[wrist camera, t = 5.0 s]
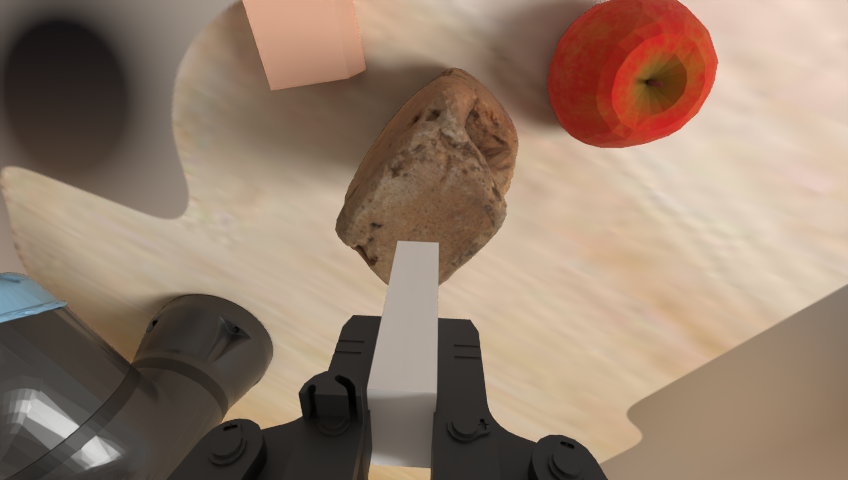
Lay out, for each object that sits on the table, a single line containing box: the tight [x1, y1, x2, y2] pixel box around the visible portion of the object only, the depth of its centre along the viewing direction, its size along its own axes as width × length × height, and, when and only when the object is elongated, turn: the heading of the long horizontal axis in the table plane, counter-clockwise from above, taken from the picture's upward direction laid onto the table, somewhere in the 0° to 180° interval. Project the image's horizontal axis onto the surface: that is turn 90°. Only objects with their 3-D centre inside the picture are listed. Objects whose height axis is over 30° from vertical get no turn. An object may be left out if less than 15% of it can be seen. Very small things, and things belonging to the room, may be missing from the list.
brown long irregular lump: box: [335, 68, 518, 286], centre depth 27 cm, size 11×8×20 cm
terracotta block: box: [242, 0, 366, 91], centre depth 30 cm, size 6×6×7 cm
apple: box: [547, 0, 718, 148], centre depth 28 cm, size 11×11×11 cm
